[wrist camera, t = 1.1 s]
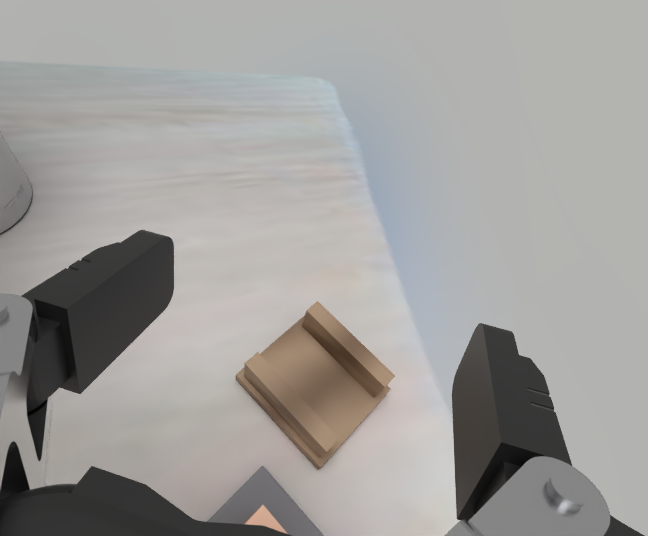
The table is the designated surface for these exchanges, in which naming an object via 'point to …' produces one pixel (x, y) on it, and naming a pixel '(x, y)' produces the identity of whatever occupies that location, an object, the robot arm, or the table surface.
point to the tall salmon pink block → (264, 519)
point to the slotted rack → (316, 383)
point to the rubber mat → (273, 498)
